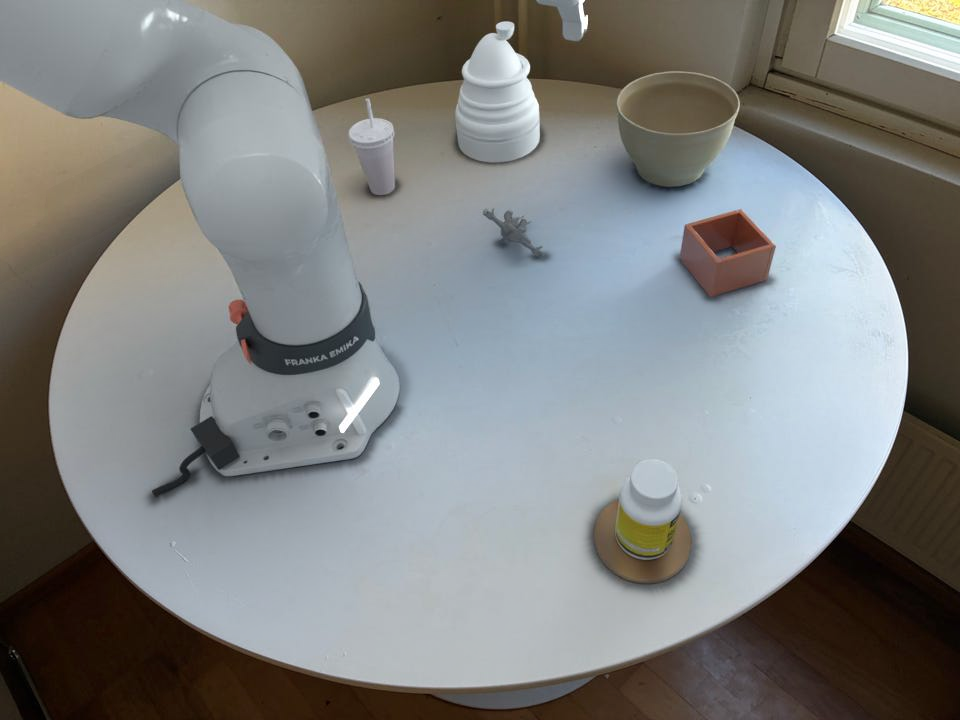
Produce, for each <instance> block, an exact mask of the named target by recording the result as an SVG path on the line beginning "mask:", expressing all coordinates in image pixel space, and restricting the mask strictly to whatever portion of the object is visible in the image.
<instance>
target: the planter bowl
mask: <svg viewBox="0 0 960 720" xmlns="http://www.w3.org/2000/svg"><path fill="white" fill-rule="evenodd" d="M740 102H741V101H740V97H739V95H738V93H737V92H736V90H734V88H733V87H732V86H730V85H729V84H727V83H726V82H724V81H723V80H720V79H719V78H717V77H714V76H711V75H708V74H704V73H699V72H698V73H697V72H692V71H691V72H690V71H676V70H675V71H674V70H673V71H663V72H655V73H651V74H648V75H644V76H641V77H639V78H637V79H634V80H633V81H631V82H629V83H628V84H626V85H625V86H624V87H623V88H622V89H621V90H620V92H619V93H618V96H617V98H616V112H617V123H618V124H617V125H618V130H619V131H618V132H619V135H620V136H619V137H620V139H621V142H622V145H623V147H624V149H625V151H626V153H627V155H628V157H629V159H630V160H631V161H632V162H633V163H634V165H635V166H636V170H637V173H638V175H640V177H641V178H642V179H643V180H645V181H646V182H648V183H650V184H653V185H656V186H660V187H667V188H671V187H673V188H674V187H682V186H687V185H690V184H692V183H694V182H696V181H697V180H698V179H700V178H701V177H702V175H703V174H704V171H705V170H706V168H708V167H709V166H710V165H711V164H713V162H714V161H715V160H716V159H717V158H718V156H719V155H720V154H721V152H722V151H723V149H724V148H725V146H726V145H727V143H728V141H729V139H730V137H731V134H732V133H733V132H732V131H733V129H734V126H735V122H736V121H735V120H736V119H737V117H738V114H739V111H740V105H741V104H740Z"/></svg>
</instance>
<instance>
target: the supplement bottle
mask: <svg viewBox="0 0 960 720" xmlns="http://www.w3.org/2000/svg"><path fill="white" fill-rule="evenodd" d="M678 476H679V475H678V473H677V472H676V470H675V469H674V467H673V466H671V465H670V464H669V463H667V462H665V461H664V460H660V459H653V458H651V459H645V460H642V461H639V462H638V463H636V465H635V466H634V467H633V468H632V470H631V473H630V475H629V476H627V478H625V479H624V481H623V482H622V485H621V486H620V487H621V488H620V490H619V497H618V499H619V505H618V513H617V520H616V528H615V534H616V539H617V541H618V544H619V545H620V547H621V548H622V549H623V550H624V551H625V552H626V553H627V554H629V555H630V556H632V557H635V558H637V559H642V560H652V559H656V558H659V557H661V556H663V555H664V554H665V553H666V552H667V551H668V550H669V549H670V547H671V545H672V542H673V539H674V535H675V531H676V527H677V522H678V518H679V514H680V515H681V510H682V506H683V495H682V491H681V489H680V487H679V477H678Z"/></svg>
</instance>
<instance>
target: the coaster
mask: <svg viewBox="0 0 960 720" xmlns="http://www.w3.org/2000/svg"><path fill="white" fill-rule="evenodd" d="M618 505H619V498H617V499H615V500H613V501H612V502H611V503H609V504H608V505H606V506H605V507H604V508H603V509H602V511H601V512H600V513H599V515H598V517H597V518H596V521H595V524H594V529H593V542H594V546H595V550H596V553H597V555H598V557H599V559H600V560H601V562H602V563H603V565H605V567H607V568H608V570H610V571H611V572H612V573H613V574H615V575H617V576H618V577H620V578H622V579H623V580H626V581H629V582H632V583H637V584H657V583H661V582H664V581H667V580H669V579H671V578H672V577H674V576H675V575H677V574H678V573H679V572H681V570H682V569H683V568H684V566H685V565H686V563H687V562H688V559H689V558H690V554H691V549H692V535H691V531H690V529H689V526H688V523H687V522H686V520H685V519H684V517H683V516H682V514H681V513H680V514H679V518H678V522H677V527H676V531H675V535H674V539H673V542H672V545H671V547H670V549H669V550H668V551H667V552H666V553H665V554H664V555H663V556H661V557H659V558H656V559H652V560H642V559H637V558H635V557H632V556H630V555H629V554H627V553H626V552H625V551H624V550H623V549H622V548H621V547H620V545H619V544H618V541H617V539H616V534H615V528H616V520H617V513H618Z"/></svg>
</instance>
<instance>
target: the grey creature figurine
mask: <svg viewBox="0 0 960 720" xmlns="http://www.w3.org/2000/svg"><path fill="white" fill-rule="evenodd" d="M513 213H514V211H513V210H512V209H507V210H506V211H505V212H504V214H503V220H504V221H502V220H500V219H499V218H498V217H497V216H496V215H495V208H494V207H493V208H492V209H491V211H489V210H488V209H487V208H484V209H483V210H482V215H483V216H484V217H486V218H487V219H488V220H489V221H492V222H494V223H495V224H496V225H497V226H498V227H499V229H500V235H501V236H502V238H501V239H500V240H499V241H498V244H501V243H503V242H505V241H506V242H507V243H510V244H518V245H522V246H523V247H524V248H527V249H529V250H530V251H531V252H532V254H533V255H535V256H536V257H538V258H543V257H544V255H545V252H543V251H542V250H541V249H542V248H544V246H543V245H540V246H535V245H533V244H532V240H531V239H530V238H529V237H528V235H526V229H527V228H528V225H530V224H531V223H533V221H532V220H530V221H527V219H525V218H524V217H526V216H525V215H526V214H522V216H520V215H519V216H516V217H513Z"/></svg>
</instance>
